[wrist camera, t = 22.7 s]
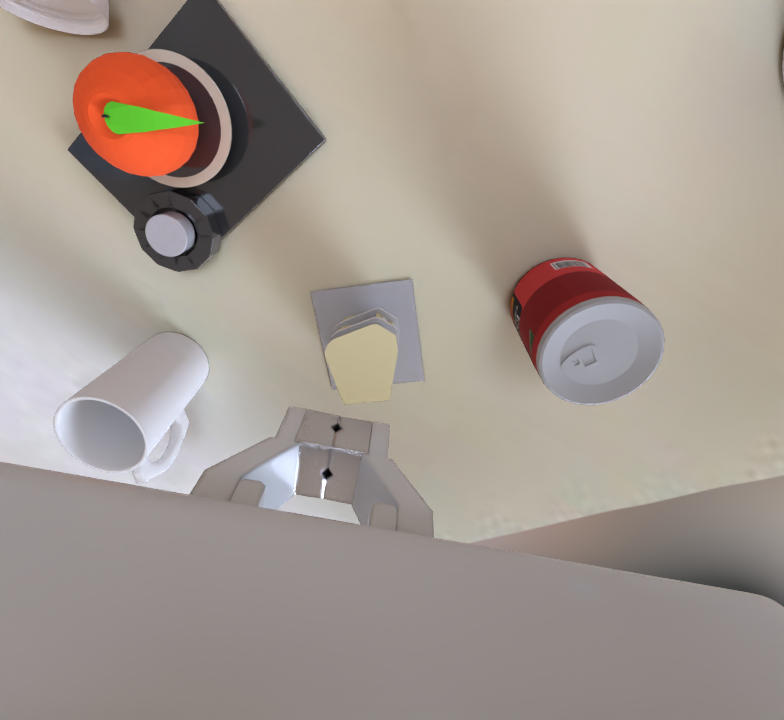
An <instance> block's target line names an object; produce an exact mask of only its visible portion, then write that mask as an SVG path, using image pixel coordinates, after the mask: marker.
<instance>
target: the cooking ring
mask: <svg viewBox="0 0 784 720" xmlns="http://www.w3.org/2000/svg"><path fill="white" fill-rule="evenodd" d="M136 54H140V55H144V56H146V57H148V58H150V59H152V60H154V61H155V62H157V63H159V64H161V65H163V66H165V67H166V68H167V69H168V70H169V71H171V72H172V73H173V74H174V75H175V76H176V77H178V79H179V80H180V81H181V83H182V84H183V85H184V87H185V88H186V89H187V91H188V93H189V95H190V97H191V99H192V101H193V103H194V105H195V109H196V113H197V117H198V121H199V122H203V123H201V124H198V139H197V143H196V147H195V150H194V152H193V153H192V155H191V157H190V158H189V160H188V161H187V162H186V163H185V164H183V165H182V166H181V167H180V168H179V169H177V170H175V171H173V172H170V173H168V174H165V175H163V176H152V177H150V178H151V179H153V180H155V181H157V182H159V183H162V184H165V185H168V186H172V187H181V188H185V187H193V186H197V185H200V184H203V183H205V182H207V181H208V180H210V179H212V178H213V177H214V176H215V175H216V174H217V173H218V172H219V171H220V170H221V168H222V167H223V165H224V163H225V162H226V159H227V157H228V155H229V151H230V147H231V140H232V127H231V119H230V114H229V111H228V108H227V105H226V102H225V100H224V98H223V95H222V93H221V92H220V90H219V88H218V87H217V85H216V84H215V82H214V81H213V80H212V78H211V77H210V76H209V75H208V74H207V73H206V72H205V71H204V70H203V69H202V68H201V67H200V66H199V65H198V64H196V63H195V62H193V61H192V60H190V59H189V58H187V57H185V56H183V55H181V54H178V53H175V52H172V51H168V50H163V49H150V50H144V51H141V52H138V53H136Z"/></svg>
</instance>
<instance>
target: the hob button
mask: <svg viewBox="0 0 784 720" xmlns="http://www.w3.org/2000/svg"><path fill="white" fill-rule="evenodd" d="M145 234H146V238H147V240H148V242H149V244H150V246H151V247H152V248H153V249H154V250H155V251H156V252H158V253H160V254H162V255H164V256H168V257H175V256H178V255H180V254H182V253H184V252H186V251H187V250H189V249H190V248H191V247H192V246H193V244H194V241H195V231H194V228H193V226H192V224H191V222H190V221H189V220H188V219H187V218H186V217H185V216H183V215H182V214H180V213H178V212H174V211H167V212H163V213H160V214H157V215H155V216H153V217H151V218H150V219H149V220H148V222H147V224H146V228H145Z"/></svg>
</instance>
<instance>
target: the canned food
mask: <svg viewBox="0 0 784 720" xmlns="http://www.w3.org/2000/svg"><path fill="white" fill-rule="evenodd" d="M510 309H511V317H512V320H513V323H514V325H515V327H516V329H517V331H518V333H519V336H520V338H521V340H522V342H523V344H524V346H525V348H526V350H527V352H528V354H529V356H530V358H531V360H532V362H533V365H534V367H535V369H536V370H537V372H538V374H539V376H540V378H541V379H542V381H543V383H544V384H545V385H546V386H547V388H548V389H549V390H550V391H551V392H552V393H553V394H555V395H556V396H558V397H559V398H561V399H563V400H565V401H568V402H571V403H575V404H581V405H597V404H604V403H608V402H611V401H615V400H618V399H620V398H622V397H624V396H626V395H628V394H630V393H631V392H633V391H635V390H636V389H638V388H639V387H640V386H641V385H642V384H643V383H645V382H646V381H647V380H648V379H649V377H650V376H651V375H652V374H653V373H654V371H655V370H656V368H657V366H658V364H659V363H660V361H661V358H662V355H663V351H664V342H665V339H664V333H663V329H662V327H661V325H660V322H659V321H658V319H657V318H656V317H655V316H654V315H653V313H652V312H651V311H650V310H649V309H648V308H647V307H646V306H644V305H643V304H642V303H641V302H640V301H638V300H637V299H636V298H635V297H633V296H632V295H631V294H629V293H628V292H627V291H625V290H624V289H623V288H622V287H620V286H619V285H618V284H616V283H615V282H614V281H612V280H611V279H610V278H609V277H607V276H606V275H605V274H603V273H602V272H601V271H599V270H598V269H597V268H595V267H594V266H593V265H591V264H590V263H588V262H586V261H583V260H581V259H576V258H557V259H551V260H548V261H545V262H543V263H540V264H539V265H537V266H535V267H533V268H532V269H531V270H530V271H528V272H527V273H526V274H525V275H524V276H523V277H522V279H521V280H520V281H519V283H518V284H517V286H516V288H515V290H514V293H513V296H512V299H511V306H510Z"/></svg>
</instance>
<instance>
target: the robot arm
mask: <svg viewBox="0 0 784 720" xmlns="http://www.w3.org/2000/svg"><path fill="white" fill-rule="evenodd" d="M782 73H783V83H784V50H783V60H782ZM389 431H390V425H389V424H384V423H377V422H373V423H372V422H369V421H363V420H357V419H351V418H345V417H340V416H337V415H332V414H327V413H323V412H318V411H313V410H307V409H303V408H298V407H292V406H290V407H289V408H288V410H287V412H286V414H285V417H284V419H283V421H282V423H281V426H280V428H279V430H278V432H277V434H276V437H275V438H273V437H269V438H267V439H265V440H263V441H261V442H259V443H257V444H255V445H253V446H252V447H250V448H248V449H246V450H244V451H242V452H240V453H238V454H236V455H234V456H232V457H230V458H228V459H226V460H224V461H222V462H220V463H218V464H216V465H214V466H212V467H210V468H208V469H206V470H204V472H203V474H202V475H201V477H200V478H199V480H198V482H197V483H196V485H195V486H194V488H193V490H192V491H191V493H190V494H189V495H188V494H182V493H176V492H171V491H165V490H159V489H153V488H148V487H142V486H136V485H131V484H125V483H119V482H114V481H108V480H102V479H96V478H91V477H85V476H79V475H74V474H68V473H62V472H57V471H51V470H45V469H39V468H34V467H28V466H22V465H17V464H11V463H5V462H0V720H784V607H783V606H781V605H780V604H778V603H777V602H775V601H774V600H772V599H769V598H767V597H764V596H761V595H757V594H752V593H747V592H741V591H736V590H730V589H724V588H718V587H712V586H707V585H701V584H695V583H689V582H683V581H677V580H672V579H666V578H660V577H654V576H649V575H643V574H637V573H632V572H625V571H620V570H615V569H609V568H603V567H597V566H592V565H586V564H580V563H574V562H569V561H564V560H558V559H552V558H547V557H541V556H535V555H530V554H523V553H518V552H513V551H506V550H501V549H496V548H490V547H484V546H478V545H473V544H467V543H461V542H456V541H450V540H444V539H438V538H434V529H433V511H432V510H431V508H430V507H429V506H428V505H427V503H426V502H425V501H424V500H423V498H422V497H421V496H420V494H419V493H418V492H417V491H416V489H415V488H414V487H413V486H412V484H411V483H410V482H409V480H408V479H407V478H406V477H405V475H404V474H403V473H402V472H401V470H400V469H399V468H398V467H397V465H396V464H395V463H394V461H393V460H392V459H387V456H388V443H389ZM293 494H296V495H303V496H309V497H316V498H323V499H327V500H332V501H337V502H342V503H347V504H352V507H353V509H354V511H355V513H356V515H357V517H358V520H359V522H360V524H361V525H359V524H353V523H347V522H341V521H336V520H330V519H324V518H319V517H313V516H307V515H302V514H296V513H290V512H284V511H279V510H276V509H278V508H279V507H280V506H281V505H282V504H284V503H285V502H286V501H287V500H288V499H290V498H291V497H292V496H293Z"/></svg>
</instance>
